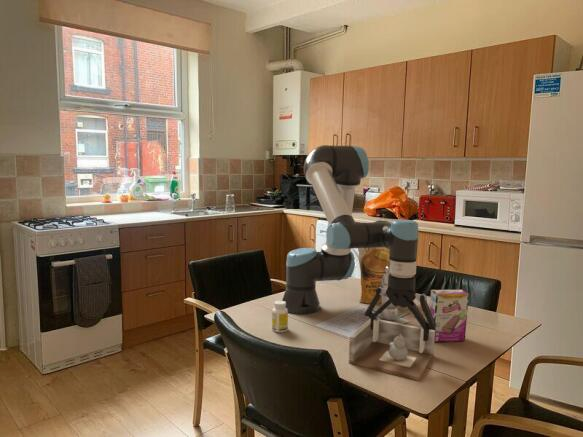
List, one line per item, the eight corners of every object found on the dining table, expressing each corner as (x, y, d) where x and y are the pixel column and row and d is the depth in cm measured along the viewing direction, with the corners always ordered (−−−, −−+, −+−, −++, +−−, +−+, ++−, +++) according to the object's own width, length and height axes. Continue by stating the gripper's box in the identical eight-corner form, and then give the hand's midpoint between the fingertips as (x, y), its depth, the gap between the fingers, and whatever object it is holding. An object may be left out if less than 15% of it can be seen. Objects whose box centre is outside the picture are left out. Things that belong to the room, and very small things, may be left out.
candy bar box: (433, 343, 141) (436, 294, 139) (426, 337, 146) (429, 289, 144) (466, 342, 142) (469, 293, 140) (458, 335, 147) (461, 288, 145)
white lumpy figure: (396, 364, 123) (398, 337, 122) (382, 355, 129) (384, 329, 128) (412, 361, 125) (413, 334, 124) (397, 352, 131) (399, 326, 130)
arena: (348, 363, 126) (349, 336, 125) (370, 341, 141) (371, 317, 140) (418, 381, 116) (420, 352, 115) (433, 355, 131) (434, 330, 130)
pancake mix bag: (352, 299, 184) (354, 234, 181) (394, 297, 189) (397, 233, 185) (358, 304, 178) (361, 237, 174) (401, 302, 182) (404, 236, 179)
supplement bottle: (289, 328, 152) (290, 300, 150) (284, 333, 147) (284, 305, 145) (275, 326, 153) (275, 299, 152) (269, 331, 148) (269, 303, 147)
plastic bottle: (387, 323, 157) (390, 269, 155) (375, 317, 163) (378, 265, 160) (401, 321, 160) (404, 267, 157) (389, 315, 166) (391, 263, 163)
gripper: (355, 270, 126) (352, 340, 129) (445, 284, 114) (439, 361, 117) (364, 265, 133) (361, 331, 136) (450, 278, 121) (445, 350, 123)
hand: (397, 345), depth 126 cm, fingers open, 13 cm apart
